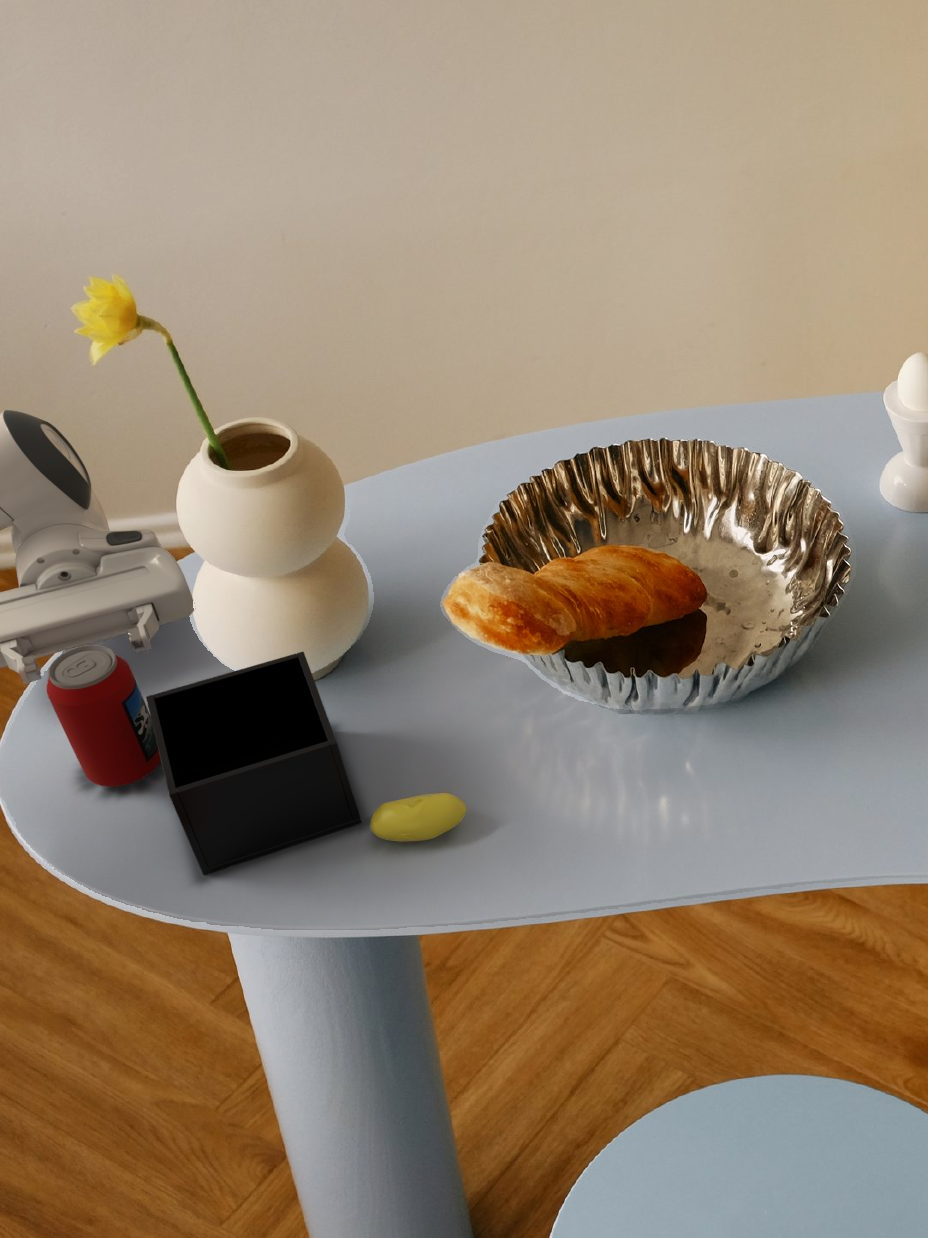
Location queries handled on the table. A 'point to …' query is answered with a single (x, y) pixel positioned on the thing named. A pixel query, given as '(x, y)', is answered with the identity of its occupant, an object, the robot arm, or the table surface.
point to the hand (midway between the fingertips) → (86, 660)
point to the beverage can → (103, 715)
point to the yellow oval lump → (417, 817)
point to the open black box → (251, 762)
